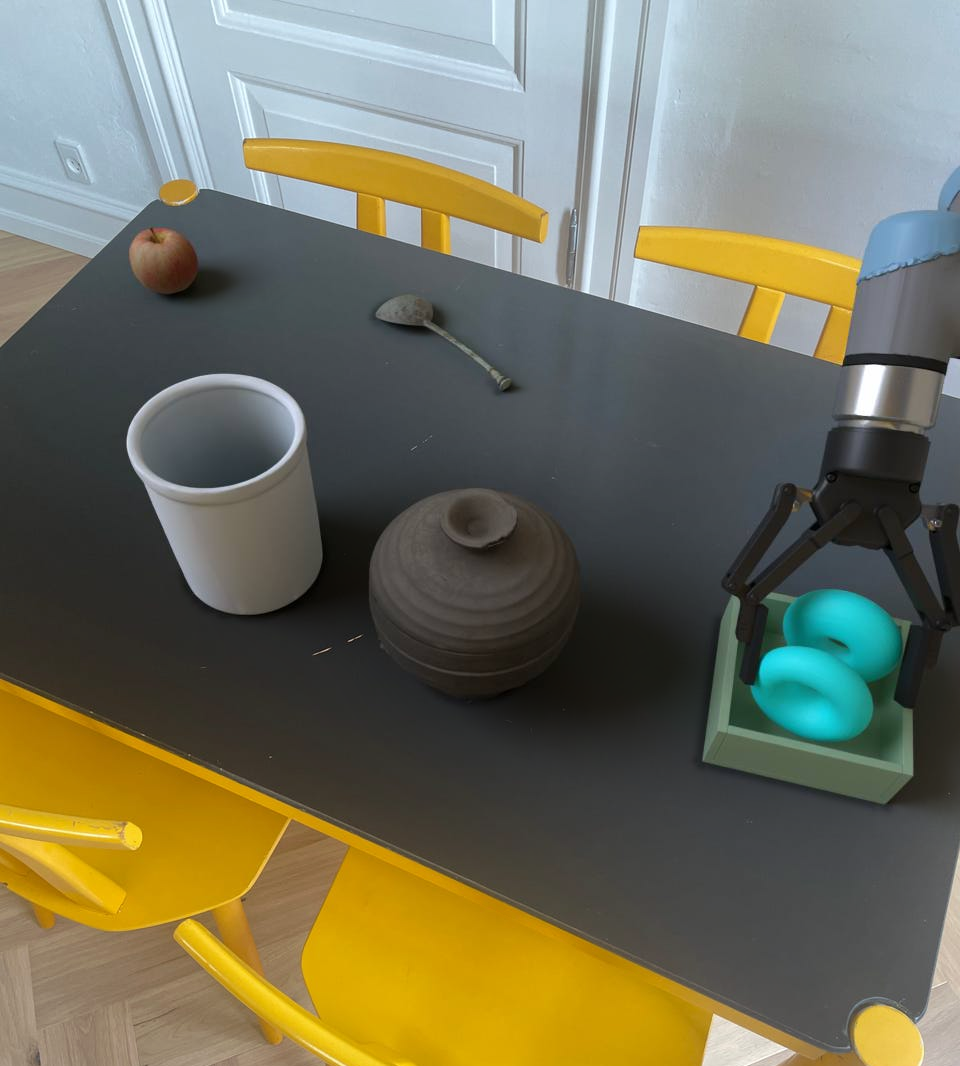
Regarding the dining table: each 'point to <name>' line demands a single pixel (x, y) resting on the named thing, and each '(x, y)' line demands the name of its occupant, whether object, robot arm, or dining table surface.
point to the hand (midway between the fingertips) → (824, 693)
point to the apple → (163, 260)
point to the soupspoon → (428, 325)
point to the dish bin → (769, 750)
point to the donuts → (827, 665)
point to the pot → (474, 591)
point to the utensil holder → (231, 489)
